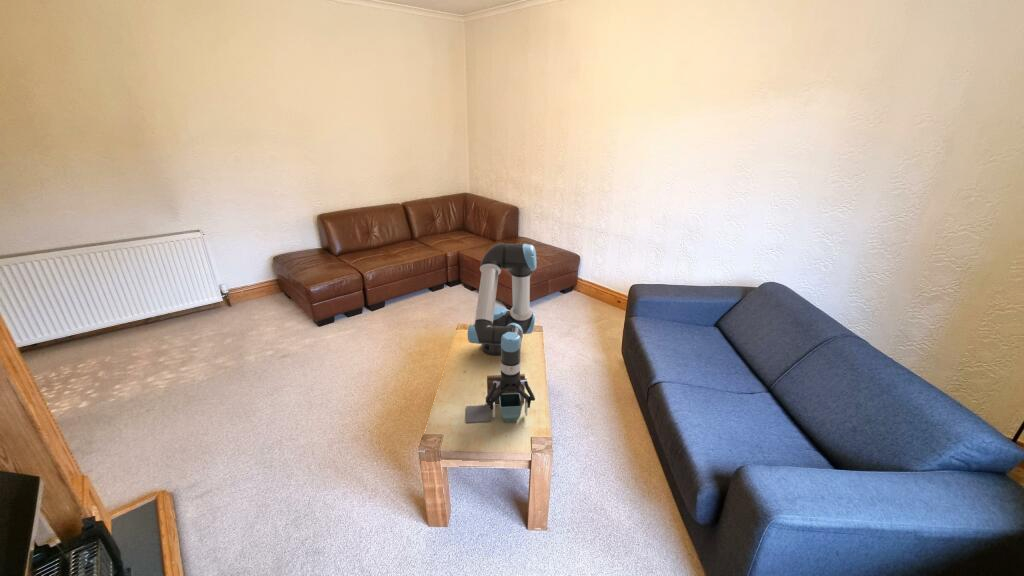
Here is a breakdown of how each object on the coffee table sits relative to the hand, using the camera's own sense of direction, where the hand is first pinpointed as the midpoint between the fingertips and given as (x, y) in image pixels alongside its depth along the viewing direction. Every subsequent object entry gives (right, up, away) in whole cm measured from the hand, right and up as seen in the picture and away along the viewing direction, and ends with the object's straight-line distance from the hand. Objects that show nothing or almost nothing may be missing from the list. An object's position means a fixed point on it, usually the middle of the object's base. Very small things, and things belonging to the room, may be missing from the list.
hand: (510, 414), depth 163 cm
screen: (-2, +2, +9) cm, 10 cm away
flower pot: (0, -2, +1) cm, 2 cm away
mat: (-13, -1, +2) cm, 13 cm away
